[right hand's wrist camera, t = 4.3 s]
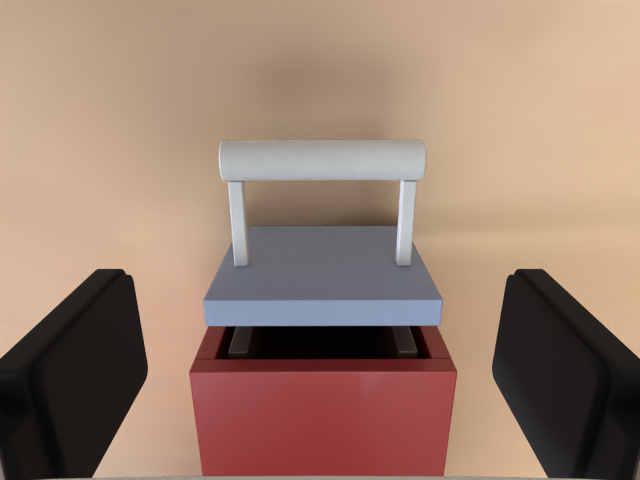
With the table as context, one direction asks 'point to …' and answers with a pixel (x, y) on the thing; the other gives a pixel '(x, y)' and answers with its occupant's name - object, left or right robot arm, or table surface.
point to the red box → (323, 411)
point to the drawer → (322, 259)
